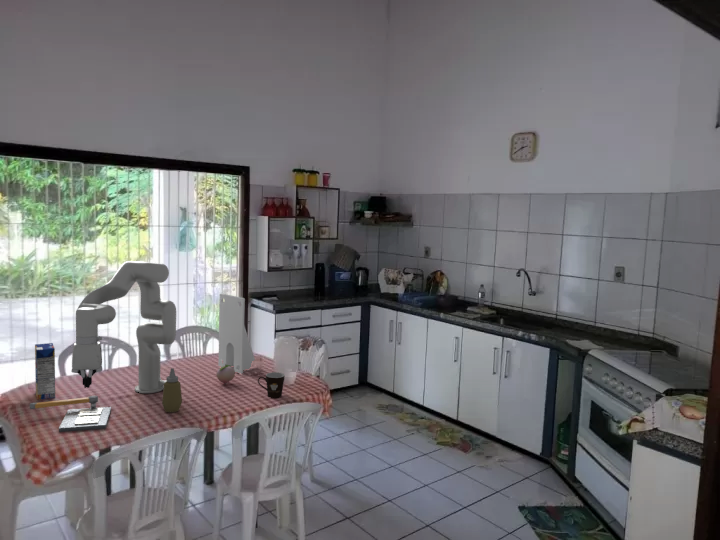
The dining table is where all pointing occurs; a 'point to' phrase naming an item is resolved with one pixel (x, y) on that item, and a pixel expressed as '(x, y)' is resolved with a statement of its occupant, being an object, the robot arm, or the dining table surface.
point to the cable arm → (64, 402)
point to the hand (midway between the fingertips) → (87, 386)
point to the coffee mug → (274, 384)
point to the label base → (85, 419)
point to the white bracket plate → (233, 334)
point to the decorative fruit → (225, 374)
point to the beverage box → (45, 370)
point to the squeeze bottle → (172, 393)
